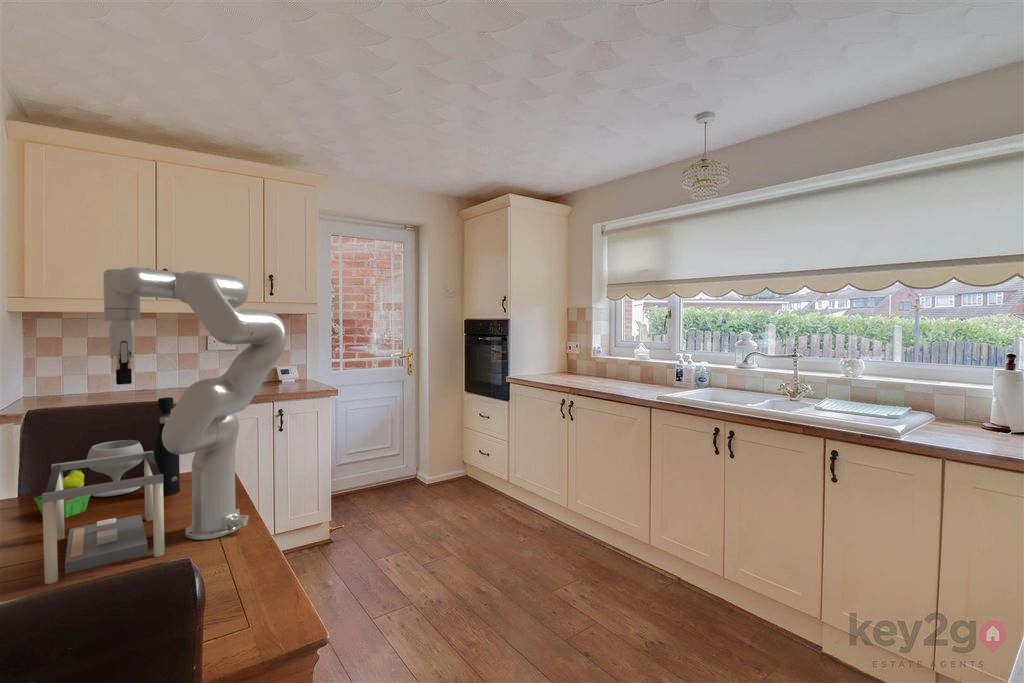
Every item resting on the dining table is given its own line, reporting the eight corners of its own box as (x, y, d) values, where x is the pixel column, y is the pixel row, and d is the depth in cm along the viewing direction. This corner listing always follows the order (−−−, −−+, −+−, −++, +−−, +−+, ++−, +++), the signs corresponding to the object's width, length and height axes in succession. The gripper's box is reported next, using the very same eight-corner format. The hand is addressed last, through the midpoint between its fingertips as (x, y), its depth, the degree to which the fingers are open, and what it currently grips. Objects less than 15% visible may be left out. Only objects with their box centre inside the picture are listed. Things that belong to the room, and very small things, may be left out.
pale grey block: (97, 539, 111) (96, 532, 111) (117, 535, 113) (117, 528, 113) (97, 545, 110) (97, 537, 109) (117, 540, 112) (117, 533, 112)
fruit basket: (32, 516, 132) (31, 476, 131) (68, 504, 140) (67, 466, 140) (63, 520, 129) (62, 479, 129) (98, 508, 138) (97, 469, 137)
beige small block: (97, 528, 117) (97, 521, 117) (116, 524, 119) (116, 517, 119) (97, 533, 116) (97, 526, 115) (116, 529, 118) (116, 522, 118)
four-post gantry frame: (53, 538, 119) (52, 470, 118) (154, 517, 132) (152, 456, 131) (44, 585, 98) (42, 503, 97) (164, 554, 111) (163, 482, 110)
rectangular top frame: (52, 470, 118) (51, 463, 118) (152, 456, 131) (152, 450, 131) (42, 503, 97) (41, 495, 97) (163, 482, 110) (163, 475, 110)
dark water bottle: (159, 490, 153) (157, 397, 152) (182, 488, 155) (181, 396, 154) (151, 497, 147) (149, 400, 145) (175, 495, 149) (173, 399, 147)
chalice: (112, 501, 144) (111, 451, 143) (75, 497, 146) (73, 448, 146) (155, 485, 157) (154, 440, 157) (120, 482, 160) (119, 438, 160)
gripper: (103, 315, 132) (105, 382, 132) (104, 315, 120) (106, 388, 121) (138, 316, 136) (139, 380, 137) (142, 315, 125) (143, 385, 126)
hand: (124, 383), depth 129 cm, fingers closed
